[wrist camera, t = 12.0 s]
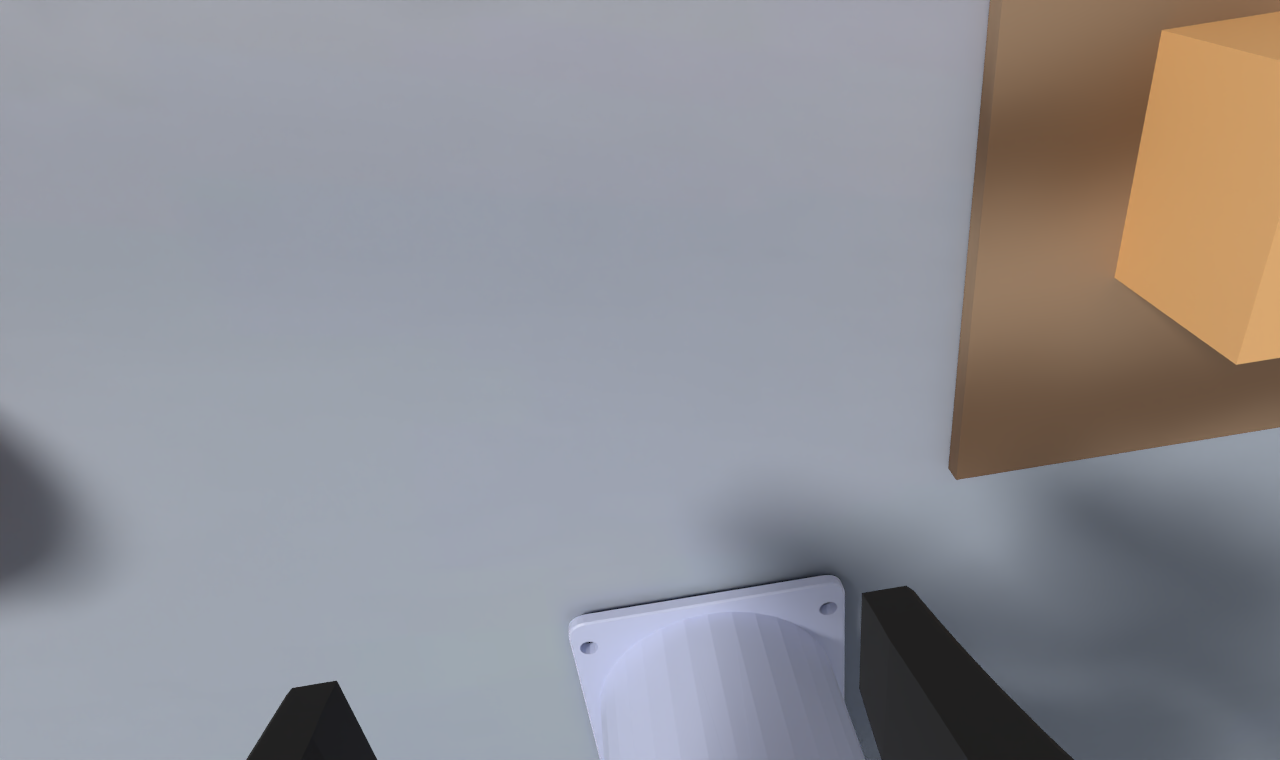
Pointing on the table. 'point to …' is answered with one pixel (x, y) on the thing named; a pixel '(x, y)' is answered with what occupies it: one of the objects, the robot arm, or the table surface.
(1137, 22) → the post board
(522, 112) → the table surface
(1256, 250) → the cardboard-colored cube
